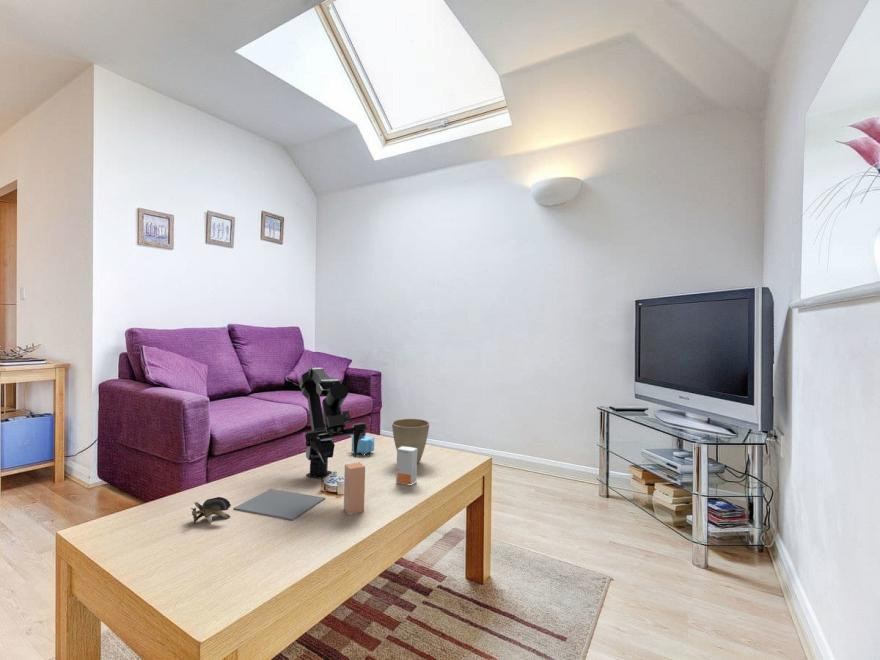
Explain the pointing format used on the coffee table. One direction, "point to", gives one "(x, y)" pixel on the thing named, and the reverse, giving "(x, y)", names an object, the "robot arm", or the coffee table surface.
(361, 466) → the block
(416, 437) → the plant pot
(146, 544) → the coffee table surface
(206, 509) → the grey brown animal figure
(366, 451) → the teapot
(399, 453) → the skincare box
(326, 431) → the robot arm
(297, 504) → the mat
